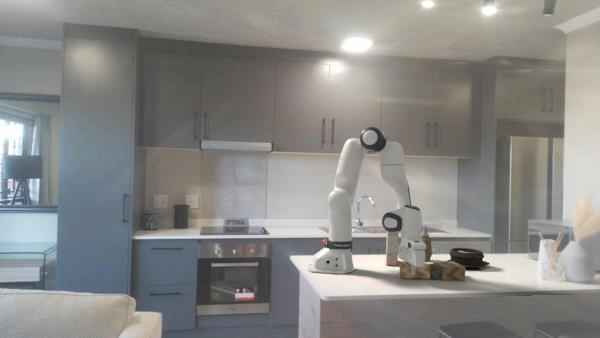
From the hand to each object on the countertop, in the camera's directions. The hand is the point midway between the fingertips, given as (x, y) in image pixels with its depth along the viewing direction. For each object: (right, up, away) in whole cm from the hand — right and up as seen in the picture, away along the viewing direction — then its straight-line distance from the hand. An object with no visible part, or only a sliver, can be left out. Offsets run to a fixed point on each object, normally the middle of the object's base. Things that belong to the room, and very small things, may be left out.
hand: (410, 273), depth 183 cm
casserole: (+36, -4, +28) cm, 46 cm away
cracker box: (-1, -3, +33) cm, 33 cm away
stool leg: (+4, -2, +1) cm, 4 cm away
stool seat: (+16, -3, +4) cm, 17 cm away
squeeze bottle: (+19, -4, +42) cm, 46 cm away
